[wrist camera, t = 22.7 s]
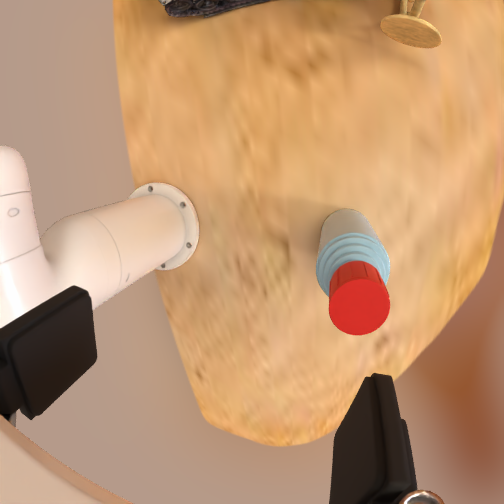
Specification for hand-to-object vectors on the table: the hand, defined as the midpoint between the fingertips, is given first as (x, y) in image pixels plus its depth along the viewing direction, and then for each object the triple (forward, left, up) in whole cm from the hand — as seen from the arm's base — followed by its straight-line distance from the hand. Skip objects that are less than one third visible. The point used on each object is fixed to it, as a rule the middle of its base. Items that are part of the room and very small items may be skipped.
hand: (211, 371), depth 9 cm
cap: (+3, -5, -14) cm, 16 cm away
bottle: (+3, -5, -31) cm, 31 cm away
